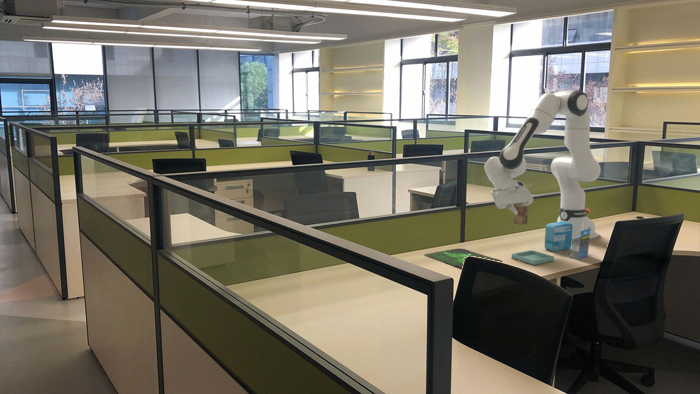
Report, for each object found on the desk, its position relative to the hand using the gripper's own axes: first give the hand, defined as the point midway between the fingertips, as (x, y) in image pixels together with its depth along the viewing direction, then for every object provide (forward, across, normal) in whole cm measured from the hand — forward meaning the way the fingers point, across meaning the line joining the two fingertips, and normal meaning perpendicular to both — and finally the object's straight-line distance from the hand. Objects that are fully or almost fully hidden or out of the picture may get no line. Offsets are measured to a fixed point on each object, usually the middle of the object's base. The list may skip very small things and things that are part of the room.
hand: (522, 213), depth 250 cm
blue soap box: (+17, +17, +8) cm, 25 cm away
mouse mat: (+9, -30, +16) cm, 35 cm away
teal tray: (+21, -6, +3) cm, 22 cm away
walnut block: (+3, 0, +4) cm, 5 cm away
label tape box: (+26, +15, -1) cm, 30 cm away
